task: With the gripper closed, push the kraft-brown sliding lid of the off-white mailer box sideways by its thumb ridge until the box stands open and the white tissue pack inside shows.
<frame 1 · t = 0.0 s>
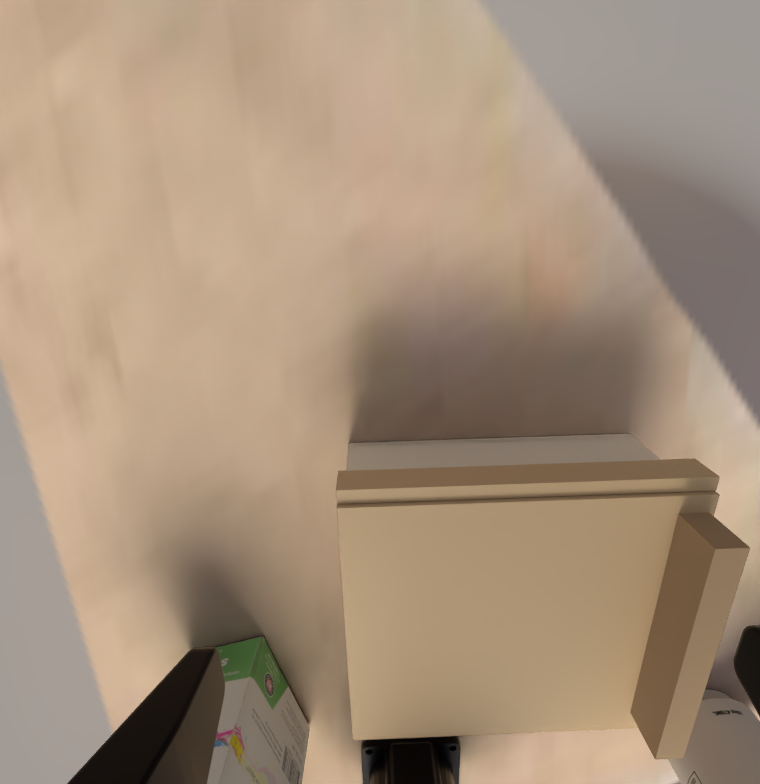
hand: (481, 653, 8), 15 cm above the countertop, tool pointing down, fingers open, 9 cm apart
ink box: (250, 687, 29), on the countertop
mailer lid: (517, 632, 19), point 6 cm above the countertop, slide at 0.0 cm
energy drink can: (694, 712, 31), on the countertop
mailer box: (483, 537, 25), on the countertop
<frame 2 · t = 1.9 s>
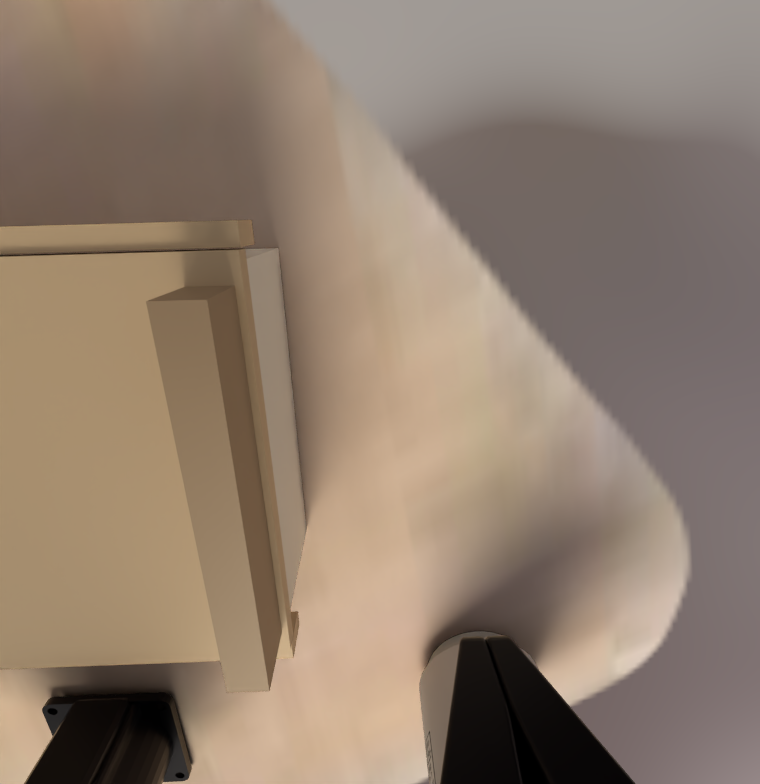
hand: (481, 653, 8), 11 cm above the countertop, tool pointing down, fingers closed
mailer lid: (5, 497, 13), point 6 cm above the countertop, slide at 0.0 cm
energy drink can: (474, 662, 24), on the countertop
mailer box: (118, 410, 18), on the countertop
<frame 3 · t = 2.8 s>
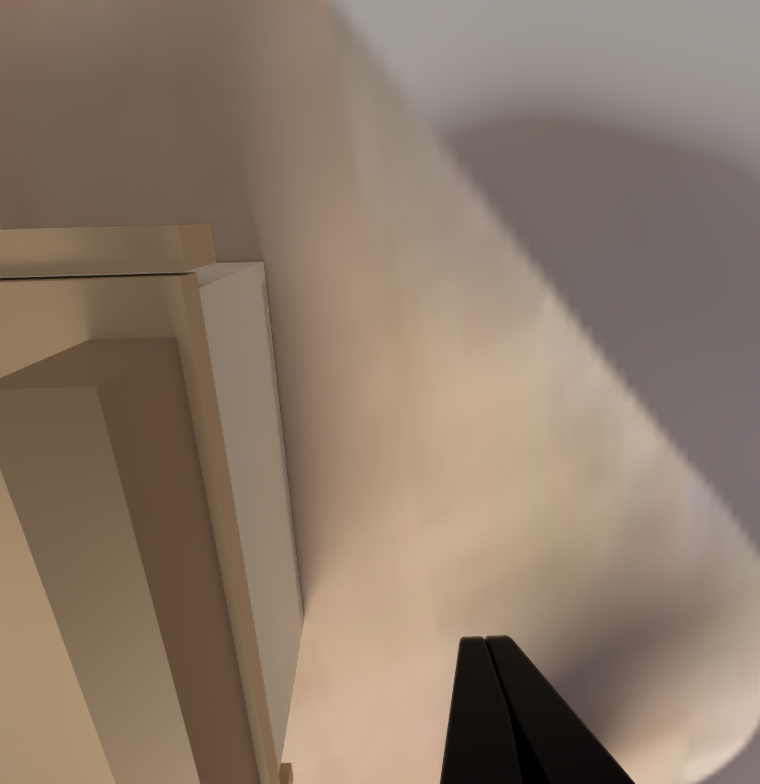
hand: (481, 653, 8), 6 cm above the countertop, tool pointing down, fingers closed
mailer box: (52, 476, 14), on the countertop
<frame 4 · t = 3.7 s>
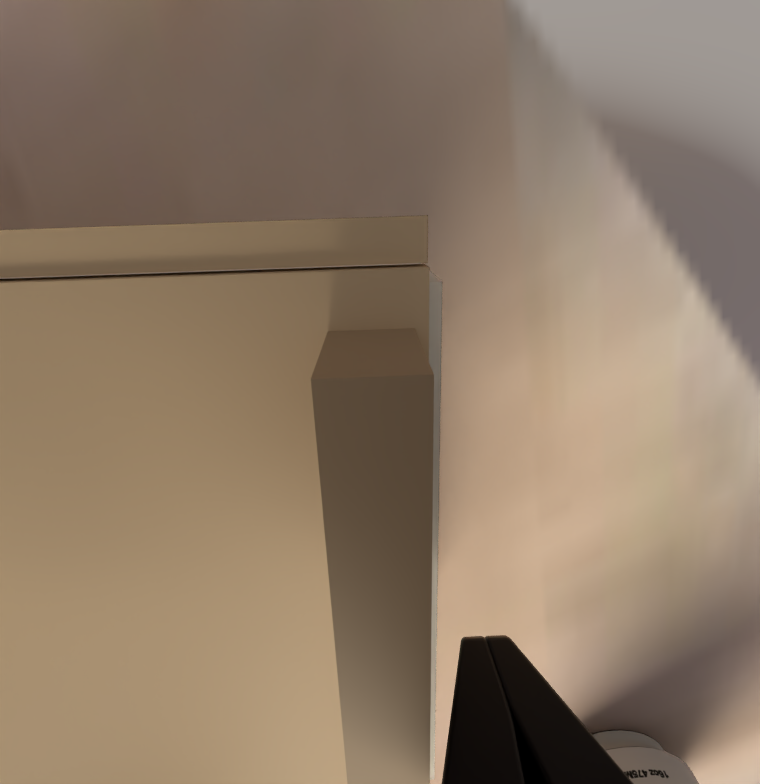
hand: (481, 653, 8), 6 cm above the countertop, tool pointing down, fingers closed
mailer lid: (18, 654, 8), point 6 cm above the countertop, slide at 0.5 cm, touching gripper
energy drink can: (604, 764, 19), on the countertop
mailer box: (180, 472, 14), on the countertop
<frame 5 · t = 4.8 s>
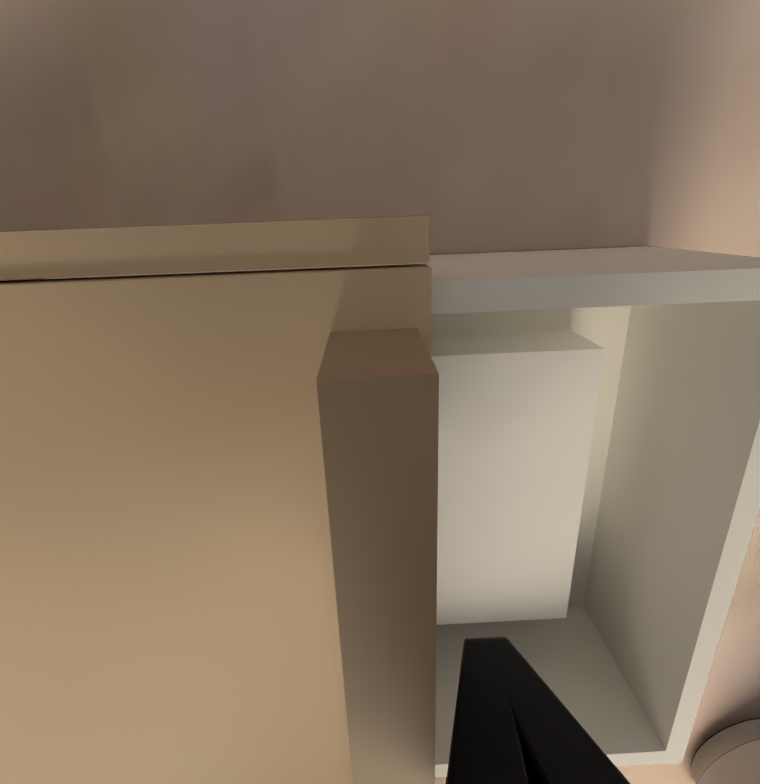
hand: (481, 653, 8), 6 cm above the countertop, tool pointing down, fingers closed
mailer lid: (20, 657, 8), point 6 cm above the countertop, slide at 6.6 cm, touching gripper, ink box
energy drink can: (745, 752, 20), on the countertop
mailer box: (384, 463, 14), on the countertop
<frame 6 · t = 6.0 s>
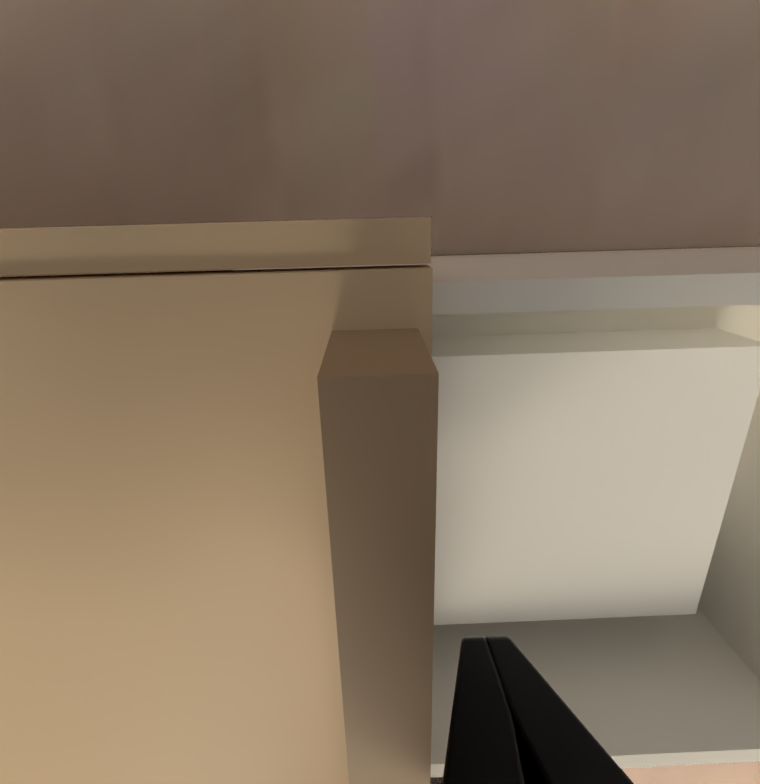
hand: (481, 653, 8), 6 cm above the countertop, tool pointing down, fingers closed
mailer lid: (19, 651, 8), point 6 cm above the countertop, slide at 10.5 cm, touching gripper
mailer box: (510, 459, 14), on the countertop
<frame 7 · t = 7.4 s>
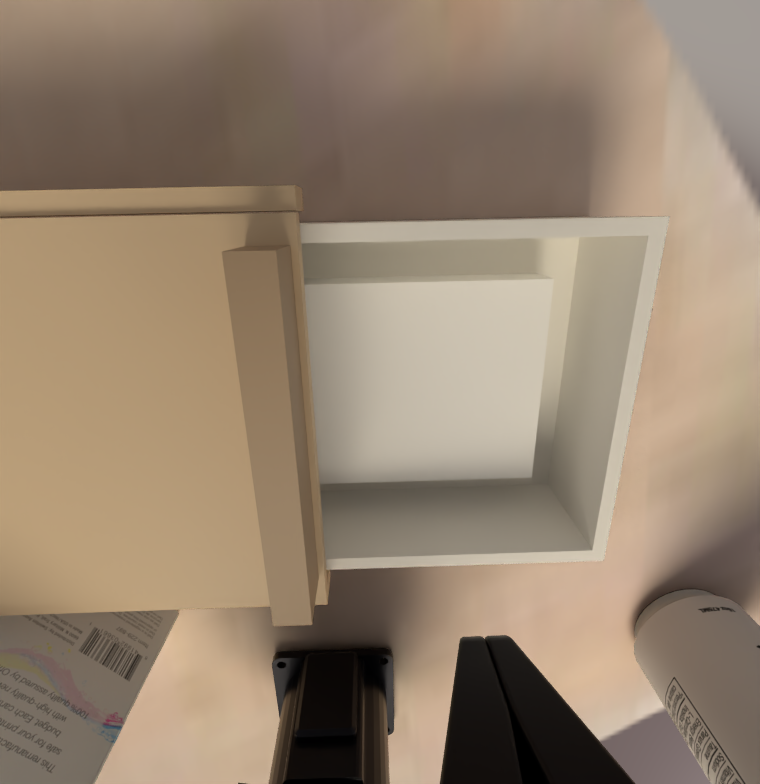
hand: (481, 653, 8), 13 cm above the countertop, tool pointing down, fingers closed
ink box: (86, 590, 24), on the countertop
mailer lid: (70, 444, 14), point 6 cm above the countertop, slide at 10.5 cm
energy drink can: (677, 621, 25), on the countertop
mailer box: (406, 370, 20), on the countertop
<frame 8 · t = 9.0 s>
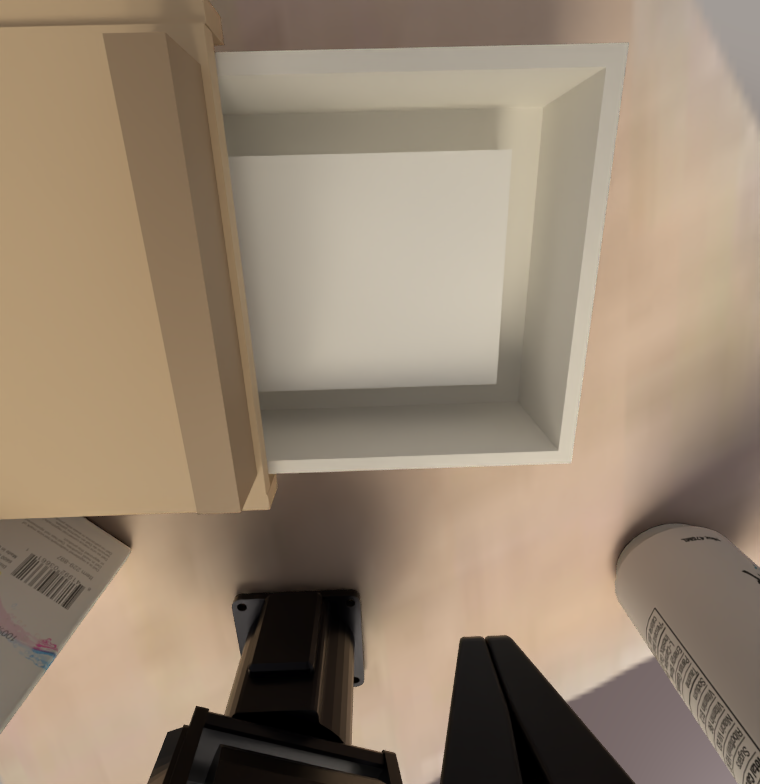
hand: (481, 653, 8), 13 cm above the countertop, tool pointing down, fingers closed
ink box: (33, 526, 22), on the countertop
energy drink can: (661, 560, 24), on the countertop
mailer box: (362, 273, 18), on the countertop
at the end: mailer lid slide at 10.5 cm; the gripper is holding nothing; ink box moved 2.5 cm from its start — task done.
